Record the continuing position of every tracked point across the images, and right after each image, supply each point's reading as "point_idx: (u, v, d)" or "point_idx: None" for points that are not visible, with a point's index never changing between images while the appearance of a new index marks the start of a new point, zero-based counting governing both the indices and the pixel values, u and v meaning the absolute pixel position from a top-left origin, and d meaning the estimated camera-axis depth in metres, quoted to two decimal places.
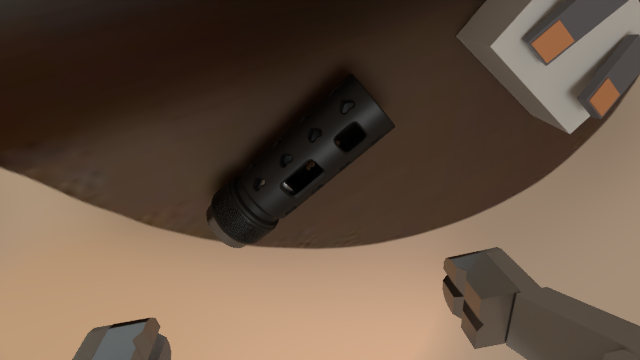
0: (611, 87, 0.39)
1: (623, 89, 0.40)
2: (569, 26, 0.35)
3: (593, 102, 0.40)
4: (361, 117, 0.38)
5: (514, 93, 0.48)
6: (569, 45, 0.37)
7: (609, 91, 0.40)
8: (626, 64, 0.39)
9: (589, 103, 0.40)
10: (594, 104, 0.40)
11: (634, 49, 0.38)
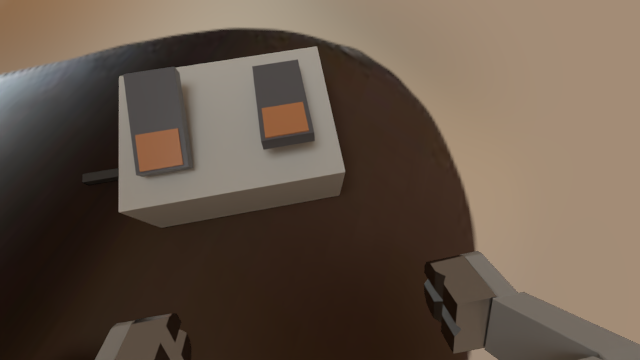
0: (280, 108, 0.28)
1: (302, 96, 0.29)
2: (154, 128, 0.28)
3: (274, 133, 0.26)
4: None
5: (278, 202, 0.35)
6: (180, 134, 0.28)
7: (283, 111, 0.28)
8: (272, 85, 0.29)
9: (271, 138, 0.26)
10: (278, 133, 0.26)
11: (264, 74, 0.30)
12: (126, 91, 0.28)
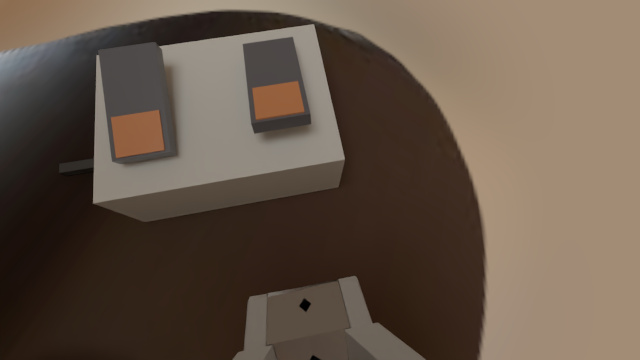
0: (273, 88, 0.25)
1: (297, 75, 0.26)
2: (133, 109, 0.25)
3: (265, 115, 0.24)
4: None
5: (271, 195, 0.32)
6: (162, 117, 0.25)
7: (275, 91, 0.25)
8: (264, 64, 0.27)
9: (262, 120, 0.24)
10: (271, 115, 0.24)
11: (255, 52, 0.27)
12: (101, 69, 0.25)
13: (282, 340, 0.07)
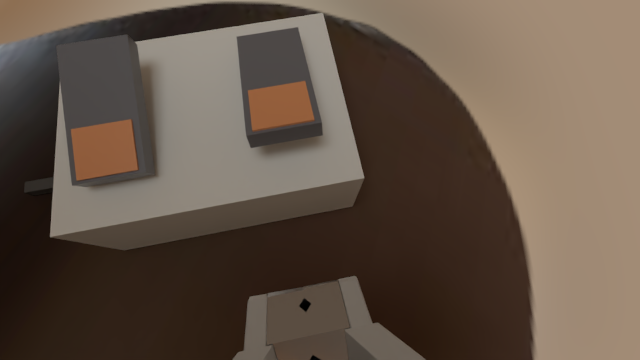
0: (274, 90, 0.20)
1: (304, 73, 0.21)
2: (99, 119, 0.20)
3: (264, 124, 0.18)
4: None
5: (274, 217, 0.27)
6: (135, 128, 0.20)
7: (277, 94, 0.20)
8: (263, 60, 0.21)
9: (261, 132, 0.18)
10: (271, 125, 0.18)
11: (252, 46, 0.22)
12: (60, 68, 0.20)
13: (282, 340, 0.07)
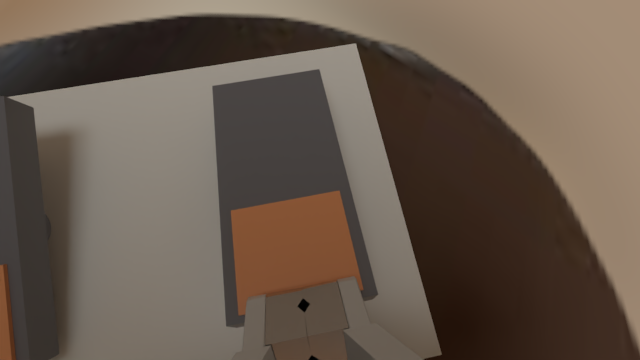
0: (280, 211, 0.10)
1: (336, 171, 0.11)
2: None
3: None
4: None
5: None
6: (11, 281, 0.10)
7: (288, 222, 0.10)
8: (259, 139, 0.12)
9: None
10: None
11: (240, 106, 0.12)
12: None
13: (281, 340, 0.07)
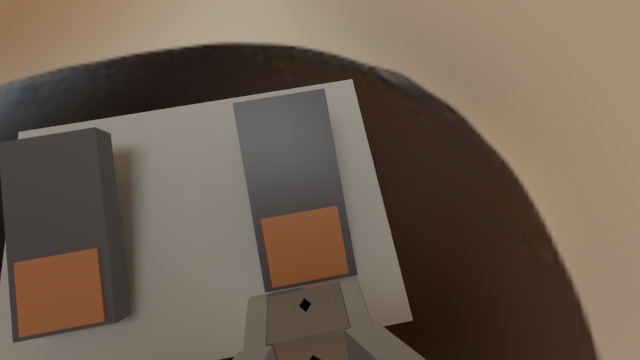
0: (295, 220, 0.15)
1: (335, 189, 0.15)
2: (53, 247, 0.14)
3: (287, 279, 0.15)
4: None
5: None
6: (102, 260, 0.14)
7: (301, 228, 0.15)
8: (276, 159, 0.15)
9: (283, 287, 0.15)
10: (296, 279, 0.15)
11: (258, 126, 0.15)
12: (2, 175, 0.15)
13: (282, 340, 0.07)
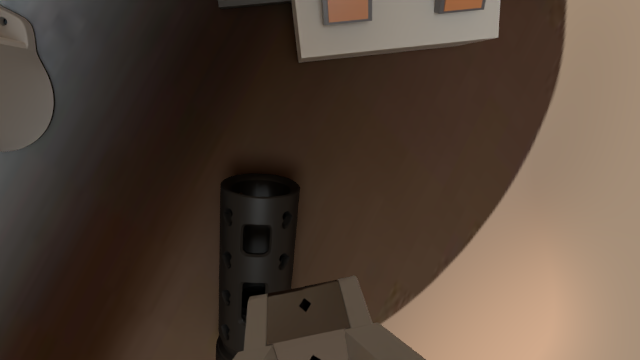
0: None
1: None
2: None
3: (452, 7, 0.30)
4: (244, 217, 0.34)
5: (408, 50, 0.38)
6: None
7: None
8: None
9: (448, 12, 0.30)
10: (456, 8, 0.30)
11: None
12: None
13: (282, 340, 0.07)
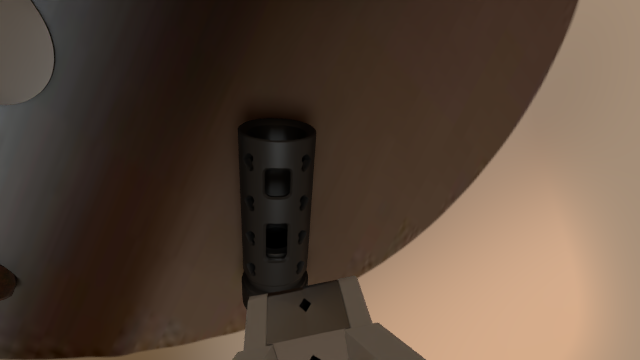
0: None
1: None
2: None
3: None
4: (266, 162, 0.34)
5: None
6: None
7: None
8: None
9: None
10: None
11: None
12: None
13: (282, 340, 0.07)
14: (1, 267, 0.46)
